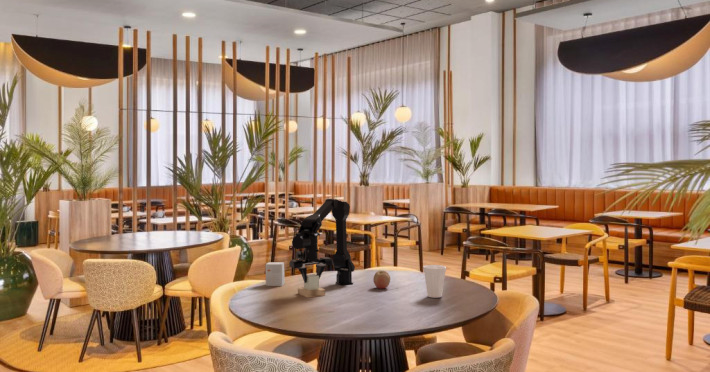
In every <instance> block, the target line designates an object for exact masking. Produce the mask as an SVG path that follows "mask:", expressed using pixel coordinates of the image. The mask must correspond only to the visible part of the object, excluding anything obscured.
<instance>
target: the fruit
mask: <svg viewBox="0 0 710 372" xmlns="http://www.w3.org/2000/svg"><path fill="white" fill-rule="evenodd" d="M372 281H373V283H374V286H375V287H376V288H377V289H379V290H382V289H386V288H388V287H389V285H390V282H391V275H390V274H389V272H387V271H386V270H377V271H376V272H375V273H374V275H373V279H372Z"/></svg>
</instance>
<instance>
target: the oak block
mask: <svg viewBox="0 0 710 372" xmlns="http://www.w3.org/2000/svg"><path fill="white" fill-rule="evenodd" d="M297 295H300V296H302V297H303V298H307V299H308V298H314V297H323V296H326V289H325V288H323V287H321V286H319V289H316V290H307V289H304V286H302V287H298V288H297Z"/></svg>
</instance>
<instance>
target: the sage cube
mask: <svg viewBox="0 0 710 372" xmlns="http://www.w3.org/2000/svg"><path fill="white" fill-rule="evenodd" d="M316 274H317V273H311V274H307V280H306V283H304V282H303V287H304V289H307V290H316V289H319V287H320V279H319V276H318V275H316Z"/></svg>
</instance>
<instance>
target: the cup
mask: <svg viewBox="0 0 710 372" xmlns="http://www.w3.org/2000/svg"><path fill="white" fill-rule="evenodd" d="M422 270H423V273H424V279H425V286H426V294H427V295H426V296H427V297H429V298H433V299H434V298H435V299H437V298H441V297H443V290H444V283H445V276H446V272H447V266H445V265H441V264H426V265H423V266H422Z"/></svg>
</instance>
